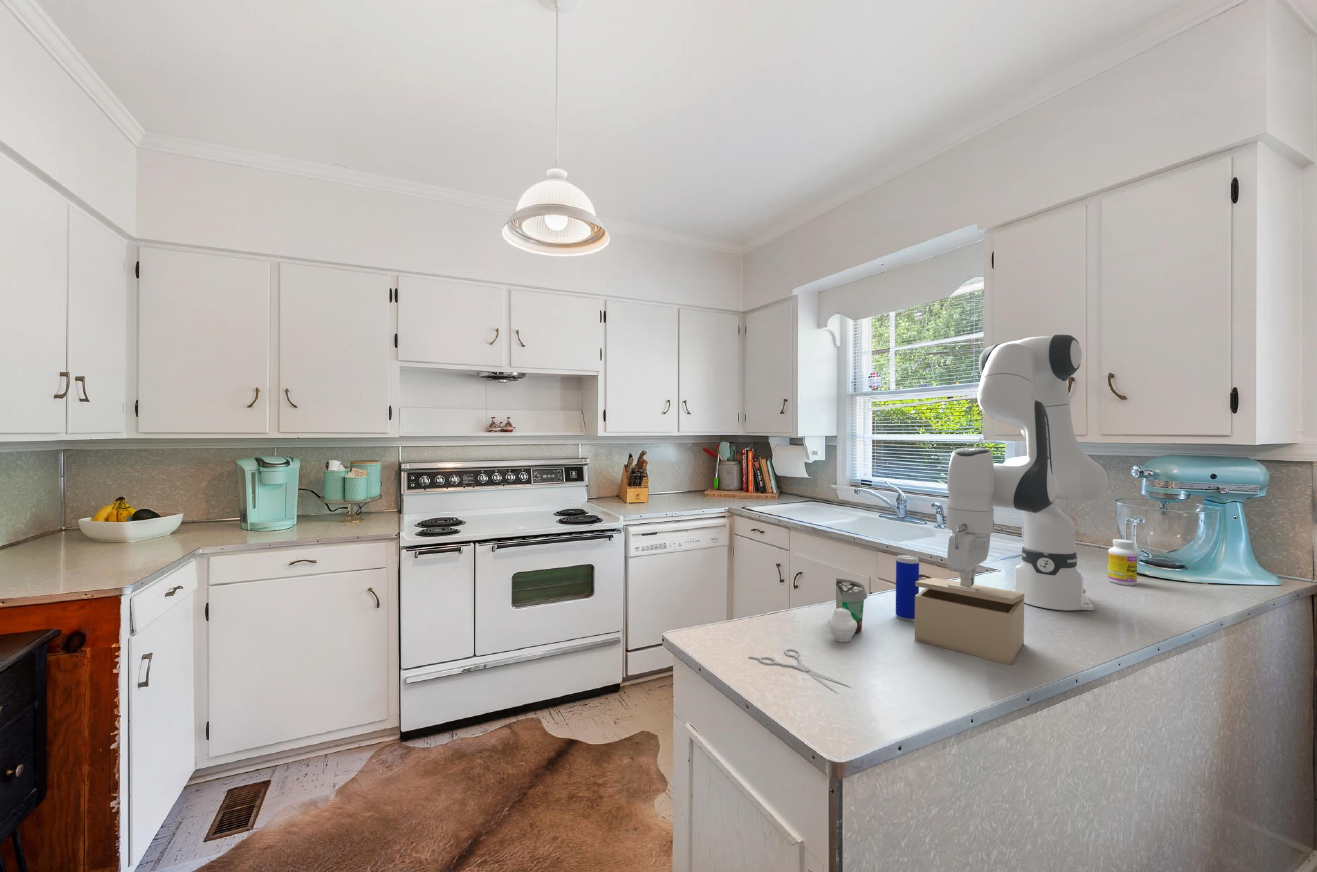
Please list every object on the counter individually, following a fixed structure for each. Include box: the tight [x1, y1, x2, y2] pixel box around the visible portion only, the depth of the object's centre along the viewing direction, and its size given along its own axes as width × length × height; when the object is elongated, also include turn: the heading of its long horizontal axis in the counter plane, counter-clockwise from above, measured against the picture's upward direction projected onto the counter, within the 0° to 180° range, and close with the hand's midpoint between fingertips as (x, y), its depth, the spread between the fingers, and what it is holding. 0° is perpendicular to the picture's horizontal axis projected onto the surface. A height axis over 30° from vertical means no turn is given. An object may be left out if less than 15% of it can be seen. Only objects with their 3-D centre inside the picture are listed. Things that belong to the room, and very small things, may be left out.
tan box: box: [914, 588, 1025, 666], centre depth 117 cm, size 14×18×10 cm
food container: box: [835, 578, 868, 635], centre depth 125 cm, size 12×6×10 cm, turn 168°
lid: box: [915, 577, 1024, 604], centre depth 117 cm, size 14×18×2 cm
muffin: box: [827, 608, 857, 643], centre depth 119 cm, size 6×6×7 cm
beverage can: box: [895, 554, 920, 622], centre depth 133 cm, size 5×5×15 cm
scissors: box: [748, 648, 851, 695], centre depth 104 cm, size 11×1×20 cm
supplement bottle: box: [1107, 538, 1138, 586], centre depth 163 cm, size 7×7×13 cm
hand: (967, 586), depth 117 cm, fingers closed
